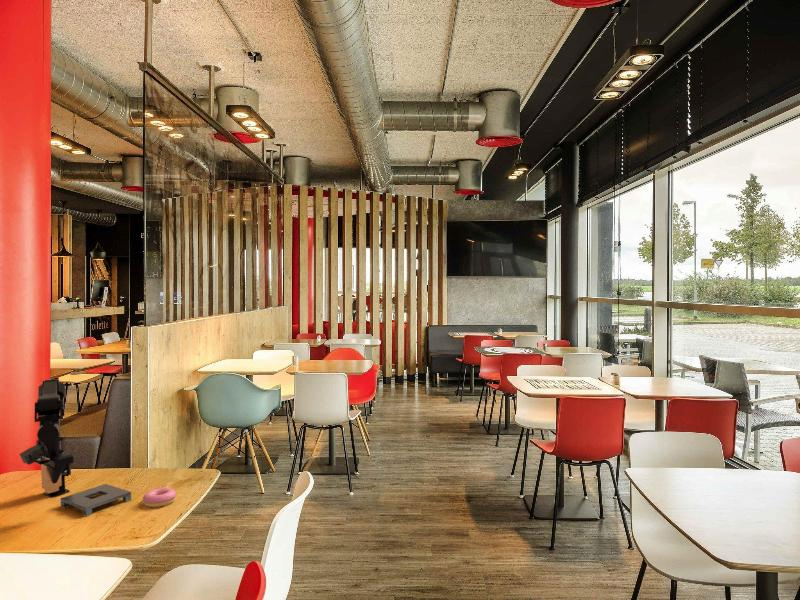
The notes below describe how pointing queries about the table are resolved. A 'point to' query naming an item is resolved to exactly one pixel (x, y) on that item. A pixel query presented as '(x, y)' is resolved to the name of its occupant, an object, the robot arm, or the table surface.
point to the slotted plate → (87, 504)
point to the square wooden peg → (49, 480)
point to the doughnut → (159, 497)
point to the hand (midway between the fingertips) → (51, 482)
